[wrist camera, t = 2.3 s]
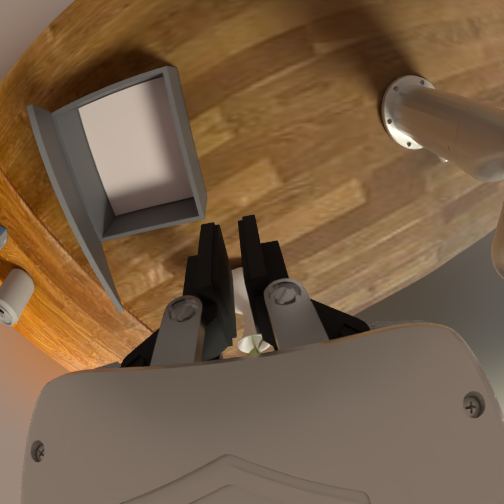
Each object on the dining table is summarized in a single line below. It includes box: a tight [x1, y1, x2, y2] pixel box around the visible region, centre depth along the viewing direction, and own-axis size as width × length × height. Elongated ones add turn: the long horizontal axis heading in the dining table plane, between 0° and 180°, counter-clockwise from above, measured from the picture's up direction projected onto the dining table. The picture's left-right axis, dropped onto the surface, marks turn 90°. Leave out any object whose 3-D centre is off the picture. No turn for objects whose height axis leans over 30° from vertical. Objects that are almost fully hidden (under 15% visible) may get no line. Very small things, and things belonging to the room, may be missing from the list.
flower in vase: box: [232, 267, 270, 356], centre depth 43 cm, size 13×11×25 cm
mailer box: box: [51, 66, 207, 242], centre depth 33 cm, size 16×20×7 cm
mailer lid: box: [26, 104, 124, 313], centre depth 25 cm, size 17×20×1 cm
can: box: [0, 269, 34, 326], centre depth 43 cm, size 8×8×12 cm
